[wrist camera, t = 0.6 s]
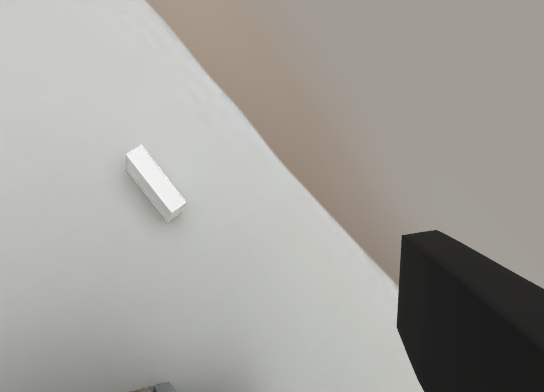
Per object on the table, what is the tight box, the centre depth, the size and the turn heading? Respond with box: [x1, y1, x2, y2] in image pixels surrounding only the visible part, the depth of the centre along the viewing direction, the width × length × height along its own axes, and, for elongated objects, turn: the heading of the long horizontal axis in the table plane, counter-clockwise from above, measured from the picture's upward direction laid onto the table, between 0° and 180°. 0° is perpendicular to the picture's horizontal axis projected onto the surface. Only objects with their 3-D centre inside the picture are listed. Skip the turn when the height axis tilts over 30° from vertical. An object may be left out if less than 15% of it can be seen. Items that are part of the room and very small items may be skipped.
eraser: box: [126, 145, 186, 223], centre depth 35 cm, size 1×5×4 cm, turn 41°
